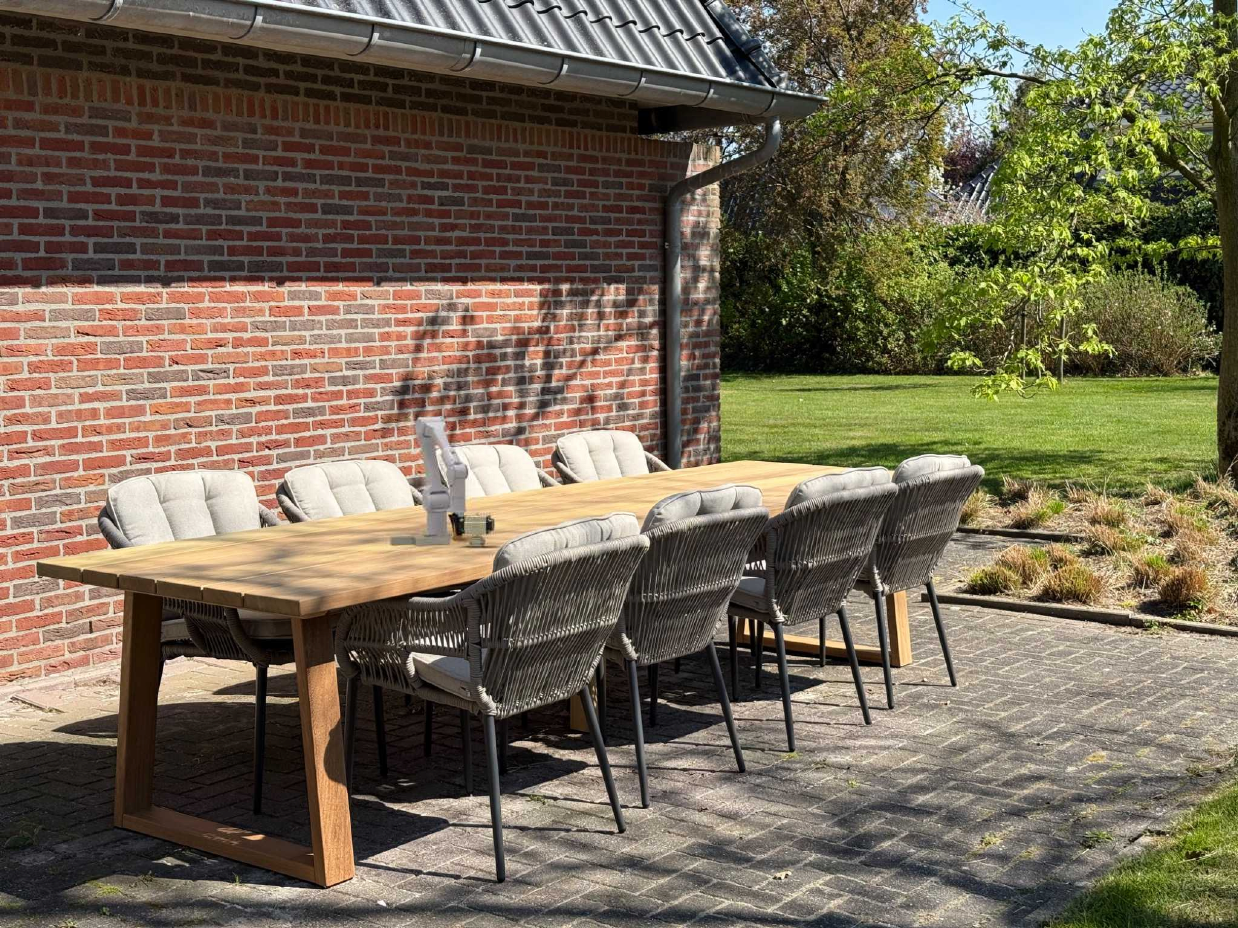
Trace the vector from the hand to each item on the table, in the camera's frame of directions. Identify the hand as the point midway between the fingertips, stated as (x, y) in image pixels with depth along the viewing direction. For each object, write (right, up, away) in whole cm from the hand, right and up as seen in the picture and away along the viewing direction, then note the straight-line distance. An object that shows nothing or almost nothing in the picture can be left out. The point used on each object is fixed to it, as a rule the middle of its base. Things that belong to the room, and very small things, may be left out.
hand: (457, 534), depth 540 cm
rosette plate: (-13, -3, -9) cm, 16 cm away
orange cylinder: (0, -2, 0) cm, 2 cm away
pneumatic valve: (+9, -4, -18) cm, 20 cm away
